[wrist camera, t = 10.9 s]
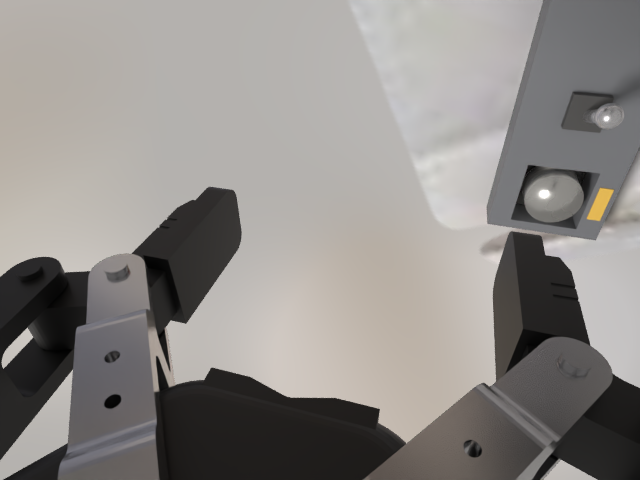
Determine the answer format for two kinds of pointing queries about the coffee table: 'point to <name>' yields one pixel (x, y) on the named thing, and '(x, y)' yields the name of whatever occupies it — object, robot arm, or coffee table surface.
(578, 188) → the button
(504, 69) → the coffee table surface
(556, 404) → the robot arm
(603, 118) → the toggle
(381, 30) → the coffee table surface
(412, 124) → the coffee table surface
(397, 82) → the coffee table surface
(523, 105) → the panel
